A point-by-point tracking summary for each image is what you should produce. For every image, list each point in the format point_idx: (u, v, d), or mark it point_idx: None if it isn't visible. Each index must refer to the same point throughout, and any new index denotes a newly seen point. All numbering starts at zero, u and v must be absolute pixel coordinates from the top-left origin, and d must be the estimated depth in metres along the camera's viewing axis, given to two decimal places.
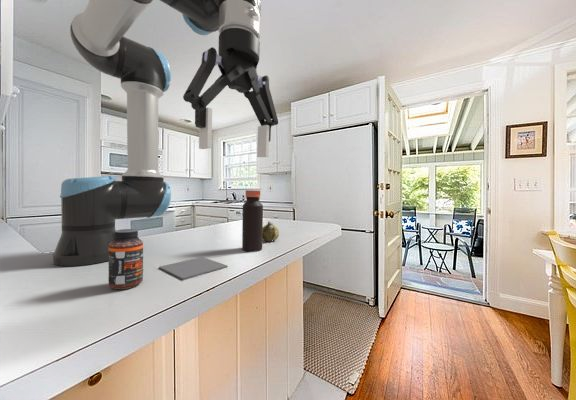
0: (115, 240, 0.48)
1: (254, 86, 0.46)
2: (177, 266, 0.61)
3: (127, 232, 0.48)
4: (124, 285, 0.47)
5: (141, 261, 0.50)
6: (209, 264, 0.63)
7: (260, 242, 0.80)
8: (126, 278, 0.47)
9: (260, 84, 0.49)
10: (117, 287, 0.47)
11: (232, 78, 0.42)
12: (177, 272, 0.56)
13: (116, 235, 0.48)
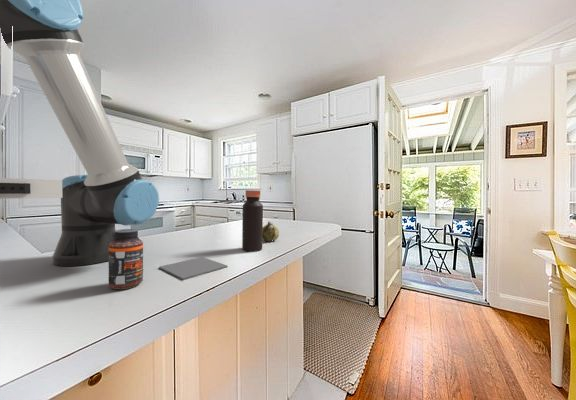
0: (115, 240, 0.48)
1: None
2: (177, 266, 0.61)
3: (127, 232, 0.48)
4: (124, 285, 0.47)
5: (141, 261, 0.50)
6: (209, 264, 0.63)
7: (260, 242, 0.80)
8: (126, 278, 0.47)
9: None
10: (117, 287, 0.47)
11: None
12: (177, 272, 0.56)
13: (116, 235, 0.48)
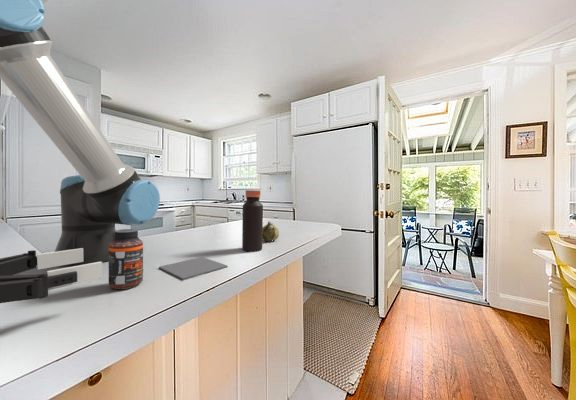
0: (115, 240, 0.48)
1: None
2: (177, 266, 0.61)
3: (127, 232, 0.48)
4: (124, 285, 0.47)
5: (141, 261, 0.50)
6: (209, 264, 0.63)
7: (260, 242, 0.80)
8: (126, 278, 0.47)
9: None
10: (117, 287, 0.47)
11: None
12: (177, 272, 0.56)
13: (116, 235, 0.48)
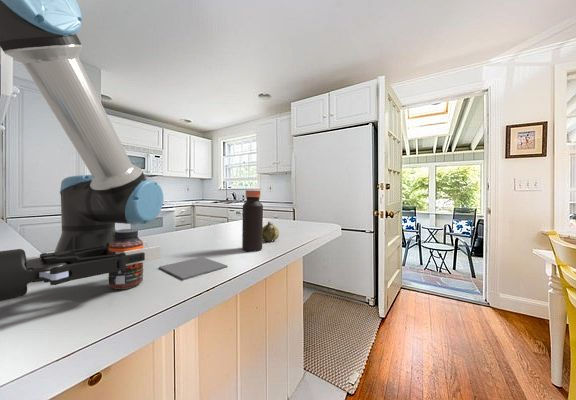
0: (115, 240, 0.48)
1: None
2: (177, 266, 0.61)
3: (127, 232, 0.48)
4: (124, 285, 0.47)
5: None
6: (209, 264, 0.63)
7: (260, 242, 0.80)
8: (126, 278, 0.47)
9: None
10: (117, 287, 0.47)
11: None
12: (177, 272, 0.56)
13: (116, 234, 0.48)
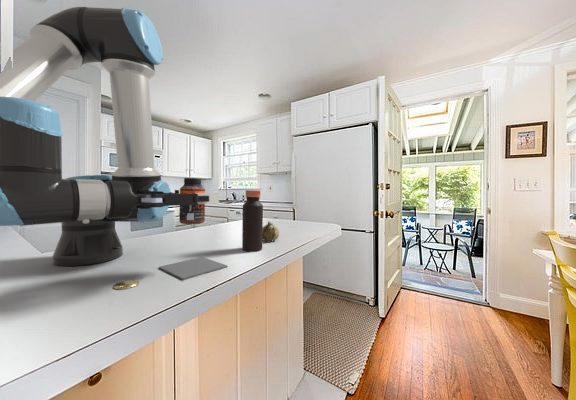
0: (185, 185, 0.58)
1: None
2: (177, 266, 0.61)
3: (195, 178, 0.58)
4: (193, 221, 0.58)
5: (204, 204, 0.60)
6: (209, 264, 0.63)
7: (260, 242, 0.80)
8: (194, 215, 0.58)
9: None
10: (188, 222, 0.57)
11: None
12: (177, 272, 0.56)
13: (186, 180, 0.58)
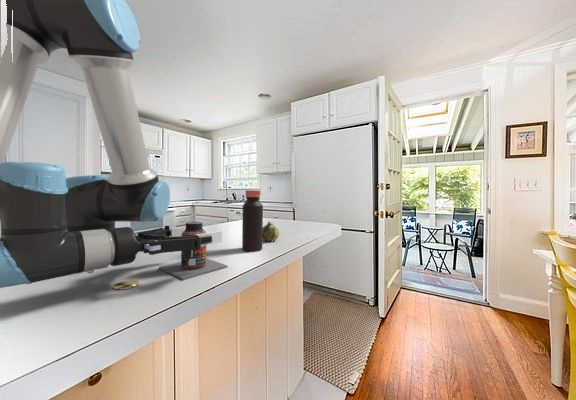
0: (187, 230, 0.59)
1: None
2: (177, 266, 0.61)
3: (196, 224, 0.59)
4: (195, 266, 0.59)
5: (205, 247, 0.61)
6: (209, 264, 0.63)
7: (260, 242, 0.80)
8: (196, 261, 0.59)
9: None
10: (189, 268, 0.58)
11: None
12: (177, 272, 0.56)
13: (187, 226, 0.59)
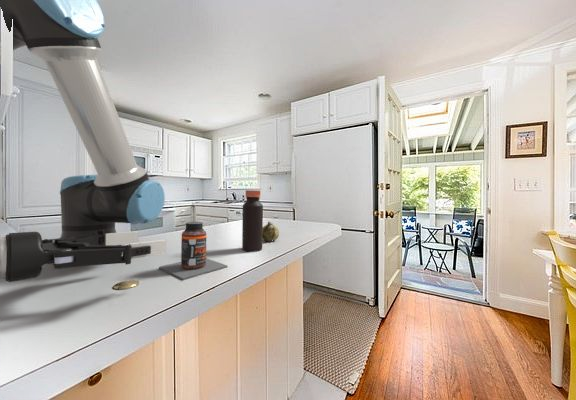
0: (187, 230, 0.59)
1: None
2: (177, 266, 0.61)
3: (196, 224, 0.59)
4: (195, 266, 0.59)
5: (205, 247, 0.61)
6: (209, 264, 0.63)
7: (260, 242, 0.80)
8: (196, 261, 0.59)
9: None
10: (189, 268, 0.58)
11: None
12: (177, 272, 0.56)
13: (188, 226, 0.59)
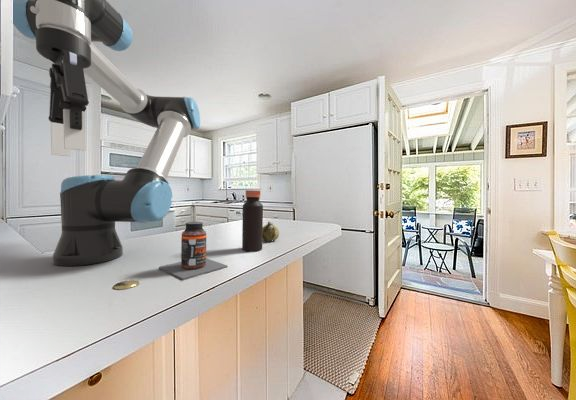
0: (187, 230, 0.59)
1: (55, 76, 0.42)
2: (177, 266, 0.61)
3: (196, 224, 0.59)
4: (195, 266, 0.59)
5: (205, 247, 0.61)
6: (209, 264, 0.63)
7: (260, 242, 0.80)
8: (196, 261, 0.59)
9: None
10: (190, 268, 0.58)
11: (50, 85, 0.45)
12: (177, 272, 0.56)
13: (188, 226, 0.59)
